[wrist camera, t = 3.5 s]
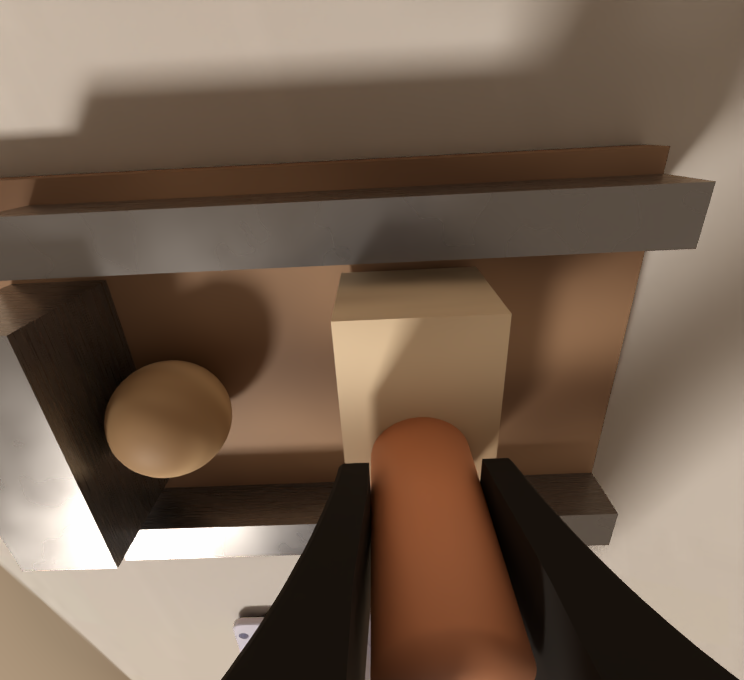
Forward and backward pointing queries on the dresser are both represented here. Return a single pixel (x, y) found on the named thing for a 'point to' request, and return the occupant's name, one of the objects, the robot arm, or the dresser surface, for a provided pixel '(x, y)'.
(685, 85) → the dresser surface
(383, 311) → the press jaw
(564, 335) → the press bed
